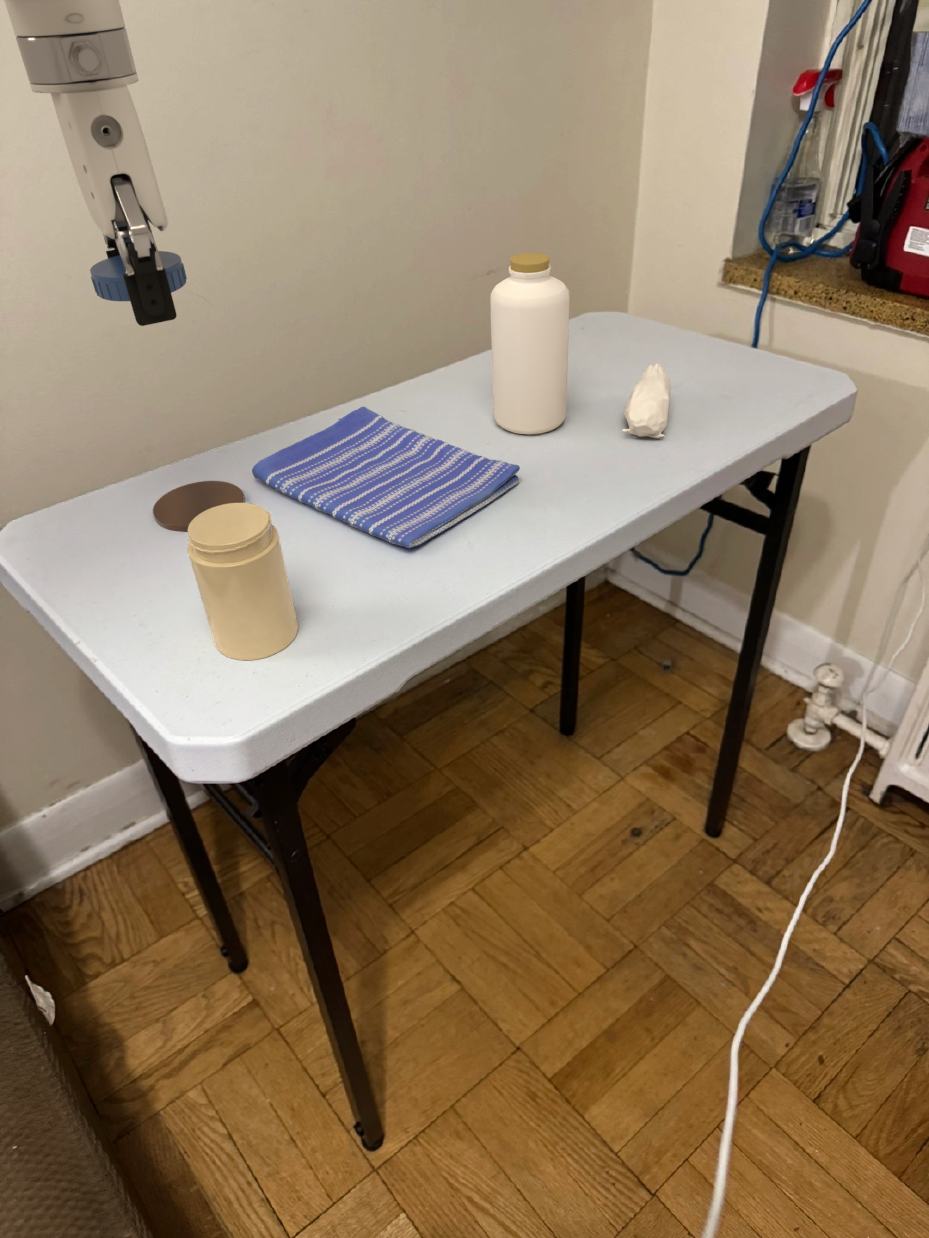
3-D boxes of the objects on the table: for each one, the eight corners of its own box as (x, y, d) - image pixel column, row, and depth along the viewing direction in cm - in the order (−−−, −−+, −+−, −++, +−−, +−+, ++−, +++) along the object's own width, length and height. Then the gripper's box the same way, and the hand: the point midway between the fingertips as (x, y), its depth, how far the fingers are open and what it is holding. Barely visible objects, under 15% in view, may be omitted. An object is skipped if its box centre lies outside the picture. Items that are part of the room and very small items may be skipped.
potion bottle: (519, 401, 104) (517, 243, 93) (579, 416, 100) (585, 253, 89) (479, 427, 99) (473, 264, 88) (541, 444, 95) (543, 275, 84)
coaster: (165, 541, 83) (163, 535, 82) (146, 500, 89) (144, 495, 89) (255, 514, 86) (254, 509, 85) (231, 477, 92) (230, 472, 92)
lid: (176, 268, 76) (171, 245, 75) (195, 290, 71) (190, 266, 70) (90, 284, 74) (83, 261, 73) (103, 308, 69) (96, 283, 68)
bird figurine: (619, 416, 102) (619, 434, 93) (635, 358, 99) (636, 371, 90) (661, 425, 102) (664, 444, 93) (677, 367, 99) (683, 381, 90)
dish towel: (365, 423, 101) (362, 401, 99) (525, 482, 88) (525, 457, 86) (247, 482, 91) (242, 458, 89) (408, 558, 78) (405, 532, 77)
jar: (227, 671, 67) (194, 558, 61) (205, 624, 72) (172, 515, 66) (309, 642, 70) (286, 530, 63) (283, 599, 74) (259, 491, 68)
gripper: (156, 66, 58) (217, 329, 69) (112, 50, 70) (169, 274, 81) (38, 79, 55) (120, 349, 66) (14, 60, 68) (87, 290, 79)
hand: (147, 306), depth 74 cm, fingers closed on lid, 7 cm apart
